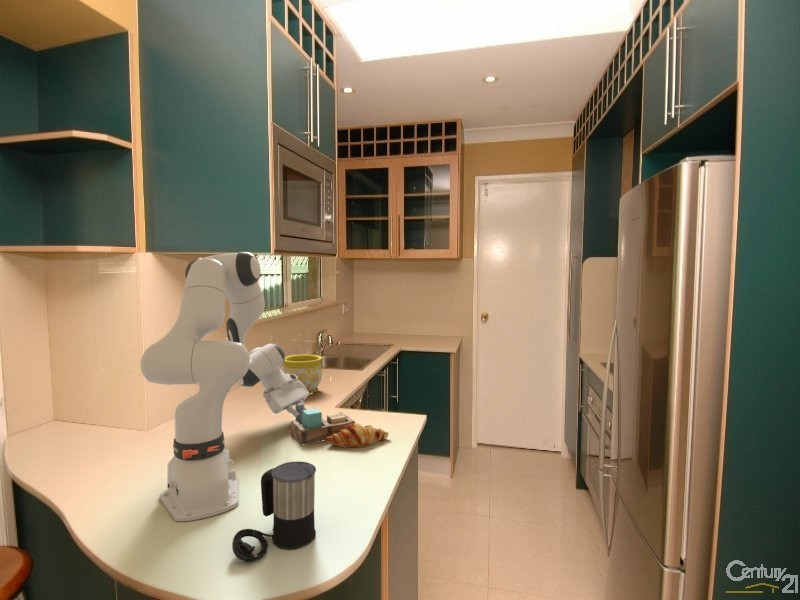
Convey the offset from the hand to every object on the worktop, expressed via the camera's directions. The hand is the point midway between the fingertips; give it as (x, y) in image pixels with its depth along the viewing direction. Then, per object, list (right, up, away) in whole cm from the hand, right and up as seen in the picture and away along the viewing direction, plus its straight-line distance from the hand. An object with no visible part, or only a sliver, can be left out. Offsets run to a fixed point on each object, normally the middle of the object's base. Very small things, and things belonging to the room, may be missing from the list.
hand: (301, 413), depth 162 cm
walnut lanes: (+9, -5, -8) cm, 13 cm away
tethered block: (+3, -5, -5) cm, 8 cm away
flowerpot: (-10, -2, +45) cm, 46 cm away
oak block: (+14, -5, -6) cm, 16 cm away
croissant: (+22, -6, -16) cm, 28 cm away
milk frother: (+10, -9, -70) cm, 71 cm away
